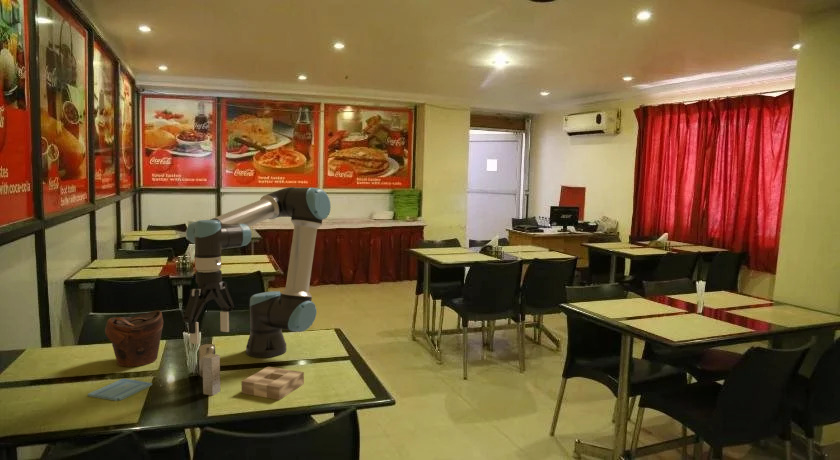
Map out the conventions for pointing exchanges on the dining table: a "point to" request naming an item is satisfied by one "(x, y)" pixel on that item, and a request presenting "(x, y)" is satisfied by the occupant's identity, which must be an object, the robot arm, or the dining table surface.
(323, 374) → the dining table surface
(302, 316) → the robot arm
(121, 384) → the blue flat panel
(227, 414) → the dining table surface
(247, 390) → the socket block
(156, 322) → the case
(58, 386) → the dining table surface
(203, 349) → the round bit
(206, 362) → the square bit
